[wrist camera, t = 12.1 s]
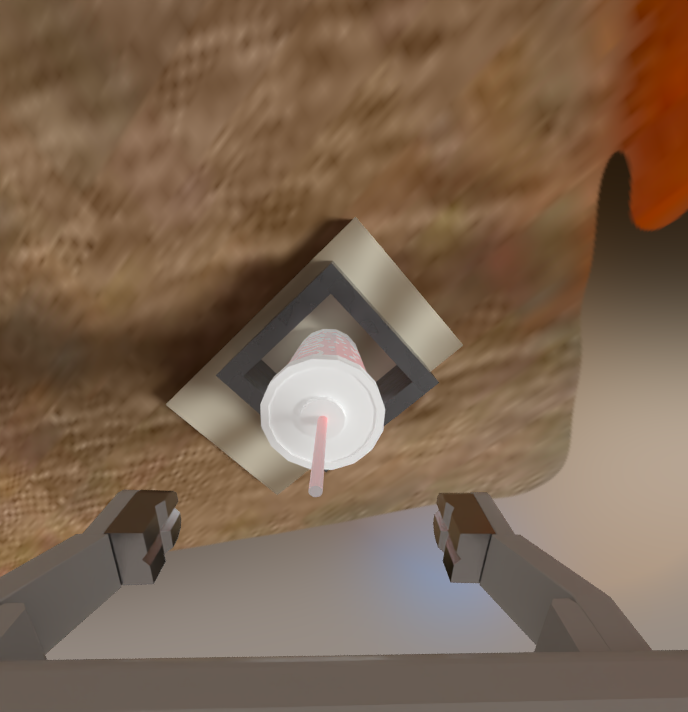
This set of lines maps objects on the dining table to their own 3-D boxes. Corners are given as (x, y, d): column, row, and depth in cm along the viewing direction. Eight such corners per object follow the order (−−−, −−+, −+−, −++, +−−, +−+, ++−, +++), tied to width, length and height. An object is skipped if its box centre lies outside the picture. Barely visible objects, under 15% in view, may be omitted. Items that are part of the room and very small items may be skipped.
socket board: (177, 393, 27) (165, 404, 25) (354, 219, 23) (355, 216, 21) (281, 479, 30) (277, 495, 28) (454, 338, 26) (463, 345, 24)
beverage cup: (363, 312, 23) (397, 397, 10) (373, 389, 25) (412, 548, 12) (280, 324, 23) (202, 424, 10) (296, 400, 25) (248, 568, 12)
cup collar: (234, 355, 24) (215, 375, 20) (332, 260, 22) (331, 263, 18) (327, 440, 26) (325, 472, 23) (423, 361, 24) (439, 382, 21)
